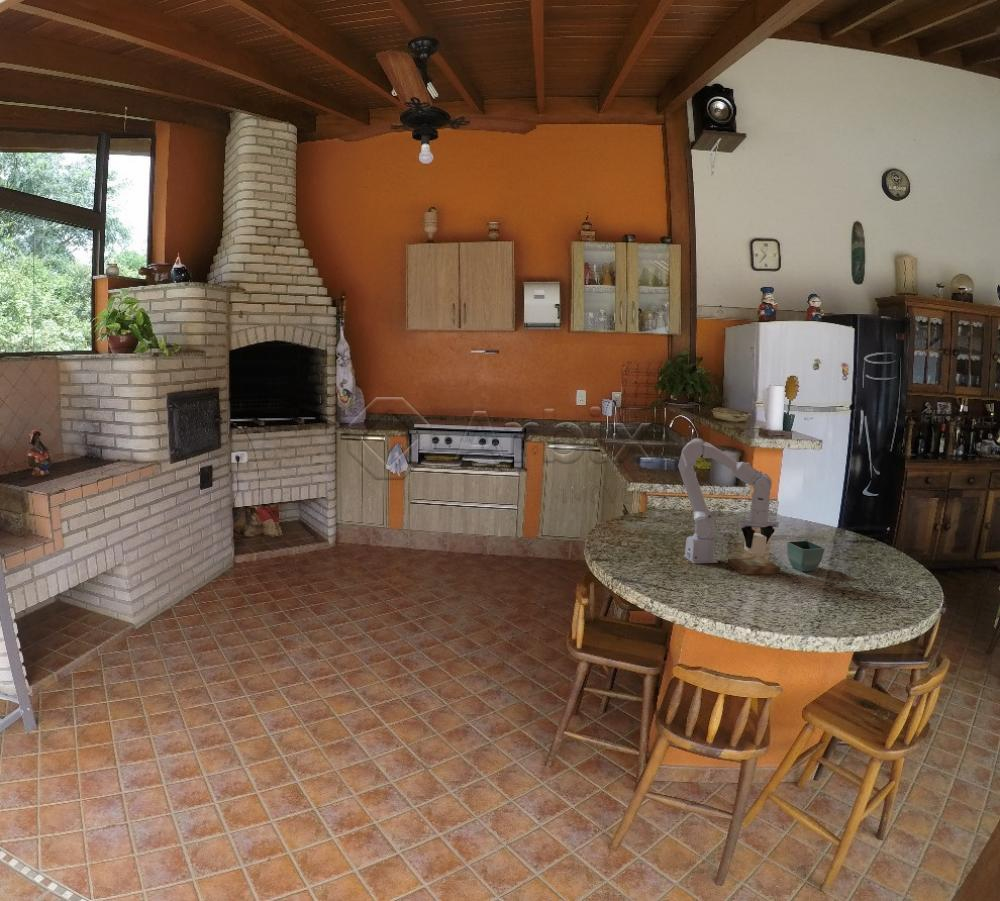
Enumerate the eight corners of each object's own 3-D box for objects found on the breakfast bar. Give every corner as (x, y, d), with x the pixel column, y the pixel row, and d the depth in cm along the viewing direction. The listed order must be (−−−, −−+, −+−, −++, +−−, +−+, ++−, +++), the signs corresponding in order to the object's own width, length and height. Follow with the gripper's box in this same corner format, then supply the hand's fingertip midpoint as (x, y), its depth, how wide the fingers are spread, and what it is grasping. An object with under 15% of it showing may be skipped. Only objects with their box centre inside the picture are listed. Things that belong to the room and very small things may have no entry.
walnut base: (742, 574, 215) (743, 568, 215) (727, 564, 225) (727, 558, 224) (779, 573, 217) (780, 567, 217) (762, 563, 227) (763, 557, 227)
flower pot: (801, 574, 217) (804, 549, 215) (783, 565, 225) (786, 541, 224) (822, 572, 219) (825, 548, 218) (804, 564, 228) (807, 540, 226)
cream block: (752, 554, 217) (753, 537, 217) (744, 549, 222) (745, 533, 221) (765, 553, 218) (766, 536, 217) (756, 549, 223) (758, 532, 222)
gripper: (747, 512, 212) (742, 551, 214) (785, 512, 215) (781, 550, 217) (735, 507, 219) (731, 544, 221) (773, 506, 222) (769, 543, 224)
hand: (755, 547), depth 220 cm, fingers closed on cream block, 5 cm apart
